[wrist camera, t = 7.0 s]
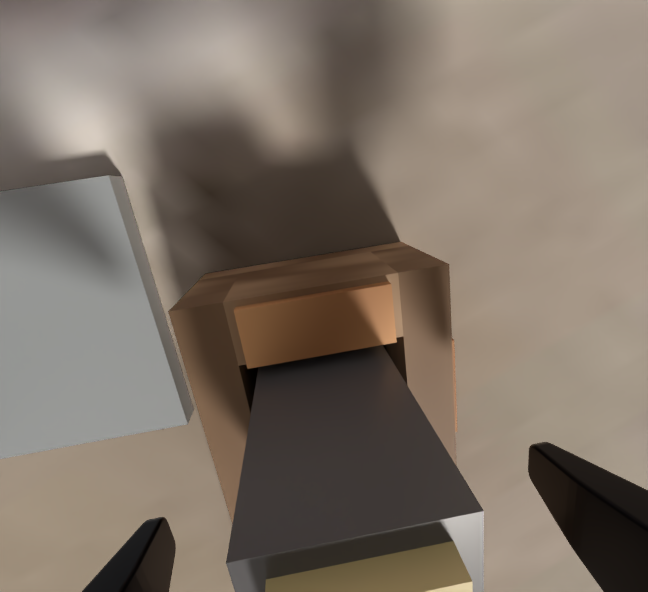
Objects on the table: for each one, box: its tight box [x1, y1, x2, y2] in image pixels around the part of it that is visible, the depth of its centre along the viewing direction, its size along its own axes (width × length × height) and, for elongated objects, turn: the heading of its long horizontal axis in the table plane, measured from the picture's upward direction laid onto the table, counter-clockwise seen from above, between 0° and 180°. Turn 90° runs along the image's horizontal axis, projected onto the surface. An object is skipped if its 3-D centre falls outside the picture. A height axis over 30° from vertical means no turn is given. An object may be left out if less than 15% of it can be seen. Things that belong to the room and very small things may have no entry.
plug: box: [226, 345, 484, 592], centre depth 10 cm, size 4×4×10 cm
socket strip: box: [168, 242, 457, 524], centre depth 15 cm, size 8×18×5 cm, turn 8°
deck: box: [0, 175, 194, 459], centre depth 13 cm, size 10×10×1 cm
